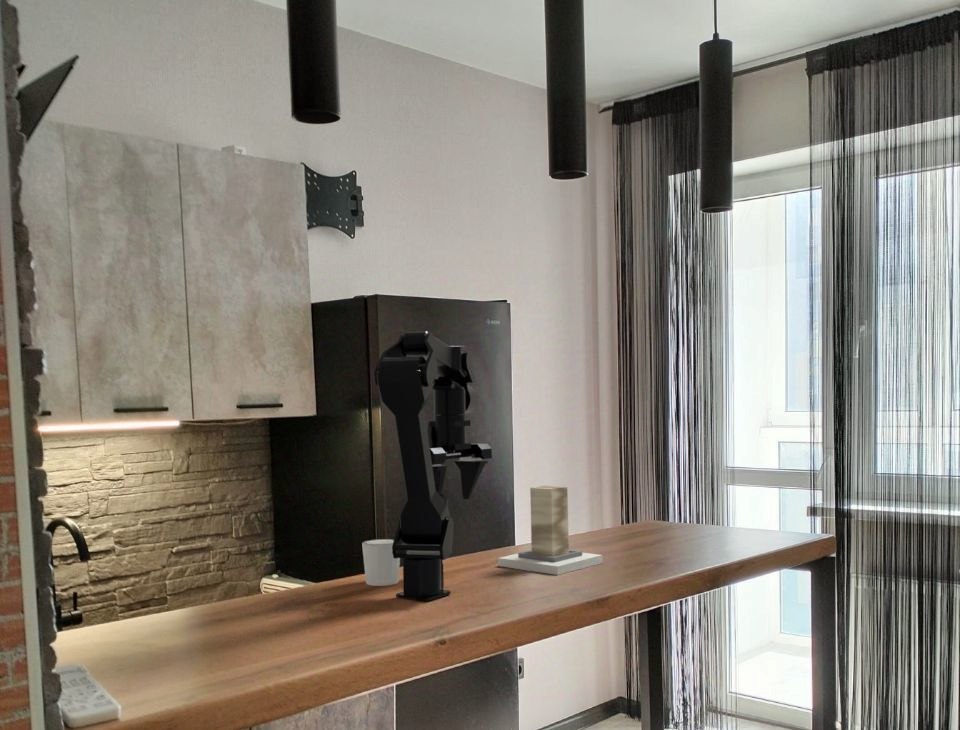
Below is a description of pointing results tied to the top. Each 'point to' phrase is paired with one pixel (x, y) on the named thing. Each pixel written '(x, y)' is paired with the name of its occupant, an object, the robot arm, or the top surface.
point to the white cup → (380, 562)
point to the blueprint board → (550, 562)
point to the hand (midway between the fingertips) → (451, 501)
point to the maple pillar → (549, 520)
